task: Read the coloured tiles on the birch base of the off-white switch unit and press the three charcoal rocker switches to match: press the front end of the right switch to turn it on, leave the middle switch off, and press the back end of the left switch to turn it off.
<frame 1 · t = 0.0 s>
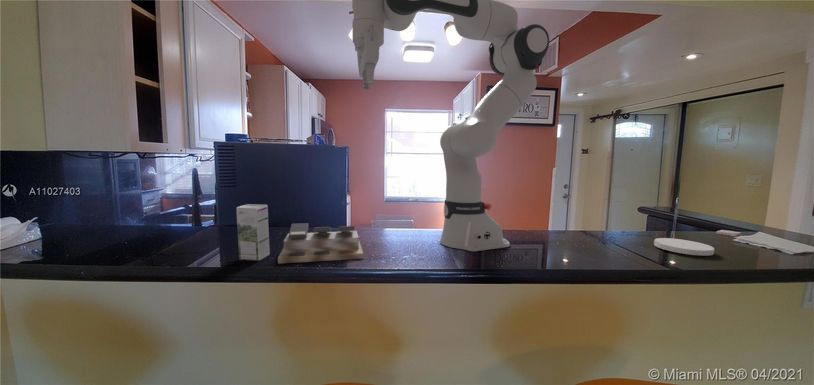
hand: (368, 86, 88), 48 cm above the countertop, tool pointing down, fingers open, 8 cm apart
switch unit: (322, 253, 88), on the countertop
switch 2: (345, 228, 90), point 7 cm above the countertop, hinge at 15.0°
switch 1: (298, 230, 87), point 7 cm above the countertop, hinge at -15.0°
plastic lid: (681, 252, 96), on the countertop
syrup box: (254, 258, 84), on the countertop
switch middle: (322, 229, 88), point 7 cm above the countertop, hinge at 15.0°
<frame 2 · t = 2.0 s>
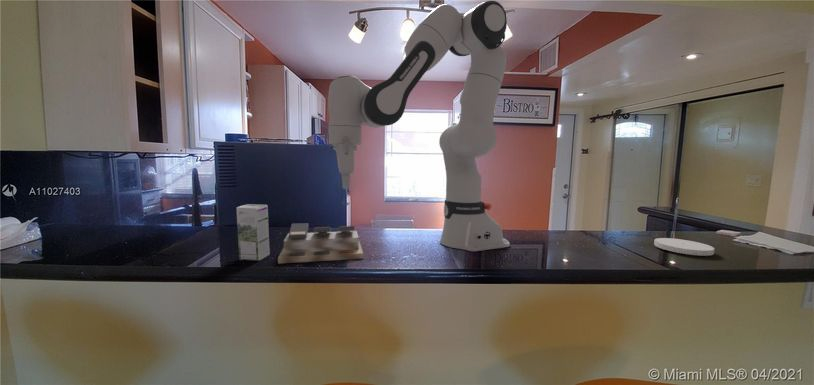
hand: (345, 188, 85), 19 cm above the countertop, tool pointing down, fingers closed
nothing on the countertop moved.
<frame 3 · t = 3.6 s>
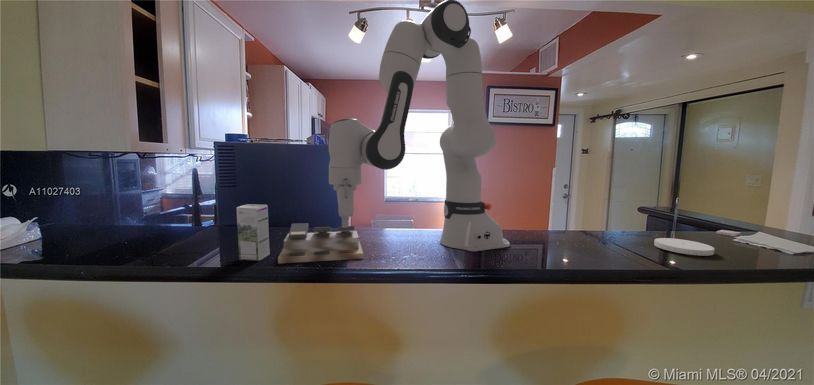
hand: (345, 226, 87), 8 cm above the countertop, tool pointing down, fingers closed, pressing on switch 2
switch 2: (345, 228, 90), point 7 cm above the countertop, hinge at 15.0°, touching gripper
everything else where it was.
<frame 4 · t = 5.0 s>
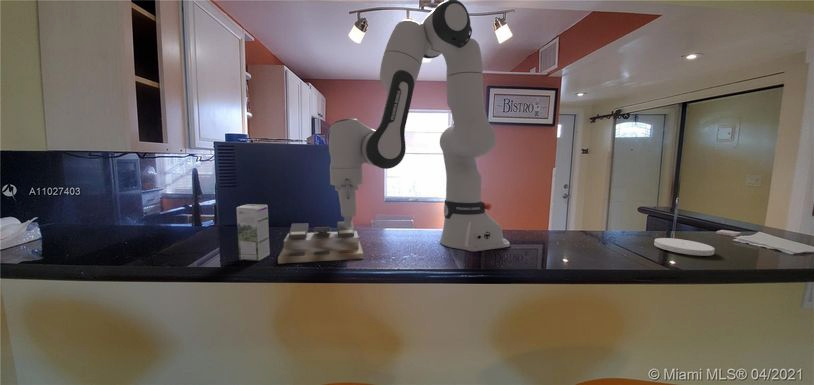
hand: (347, 226, 87), 8 cm above the countertop, tool pointing down, fingers closed
switch 2: (345, 228, 90), point 7 cm above the countertop, hinge at -18.0°
everything else where it was.
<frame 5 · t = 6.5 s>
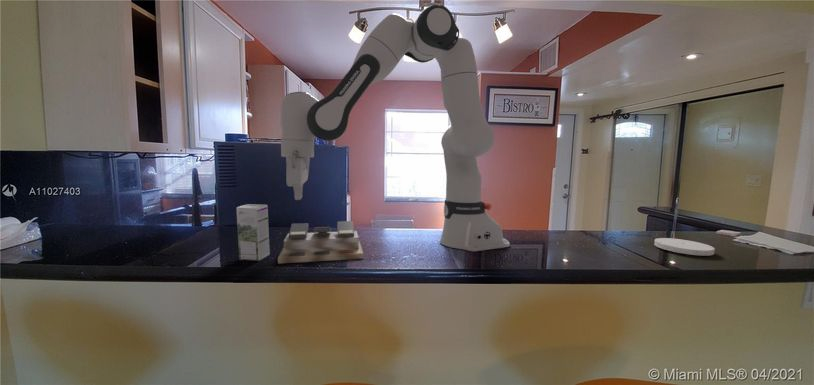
hand: (298, 199, 89), 15 cm above the countertop, tool pointing down, fingers closed
switch 2: (345, 228, 90), point 7 cm above the countertop, hinge at -19.0°
everything else where it was.
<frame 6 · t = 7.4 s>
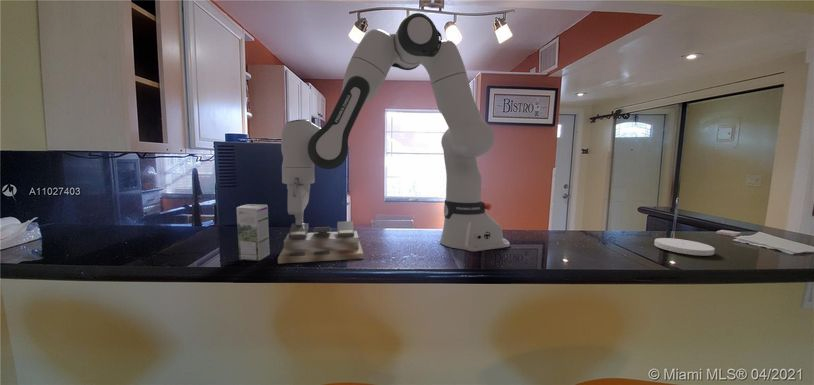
hand: (299, 224, 90), 8 cm above the countertop, tool pointing down, fingers closed, pressing on switch 1
switch 2: (345, 228, 90), point 7 cm above the countertop, hinge at -18.1°
switch 1: (298, 230, 87), point 7 cm above the countertop, hinge at -15.0°, touching gripper
everything else where it was.
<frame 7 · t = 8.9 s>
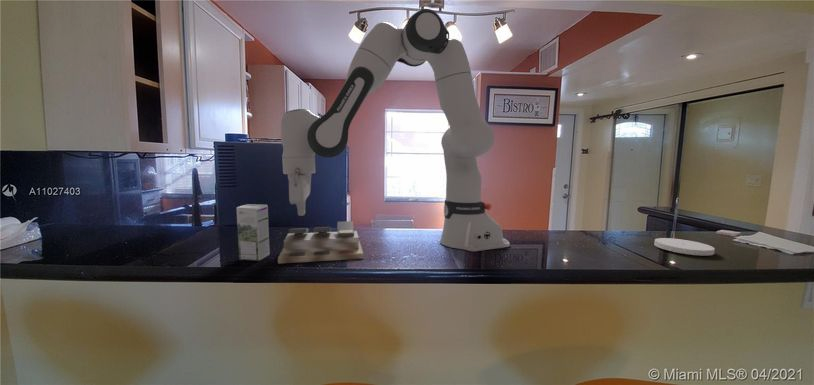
hand: (301, 214, 89), 11 cm above the countertop, tool pointing down, fingers closed
switch 2: (345, 228, 90), point 7 cm above the countertop, hinge at -17.6°
switch 1: (298, 230, 87), point 7 cm above the countertop, hinge at 12.0°
everything else where it was.
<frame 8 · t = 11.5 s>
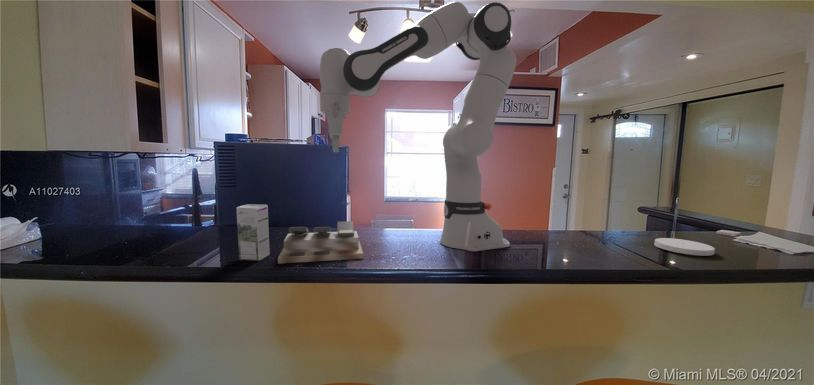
hand: (335, 152, 94), 29 cm above the countertop, tool pointing down, fingers closed
switch 1: (298, 230, 87), point 7 cm above the countertop, hinge at 20.1°
everything else where it was.
at the end: switch 2 at -18° (first picture: +15°); switch middle at +15° (first picture: +15°); switch 1 at +20° (first picture: -15°) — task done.
